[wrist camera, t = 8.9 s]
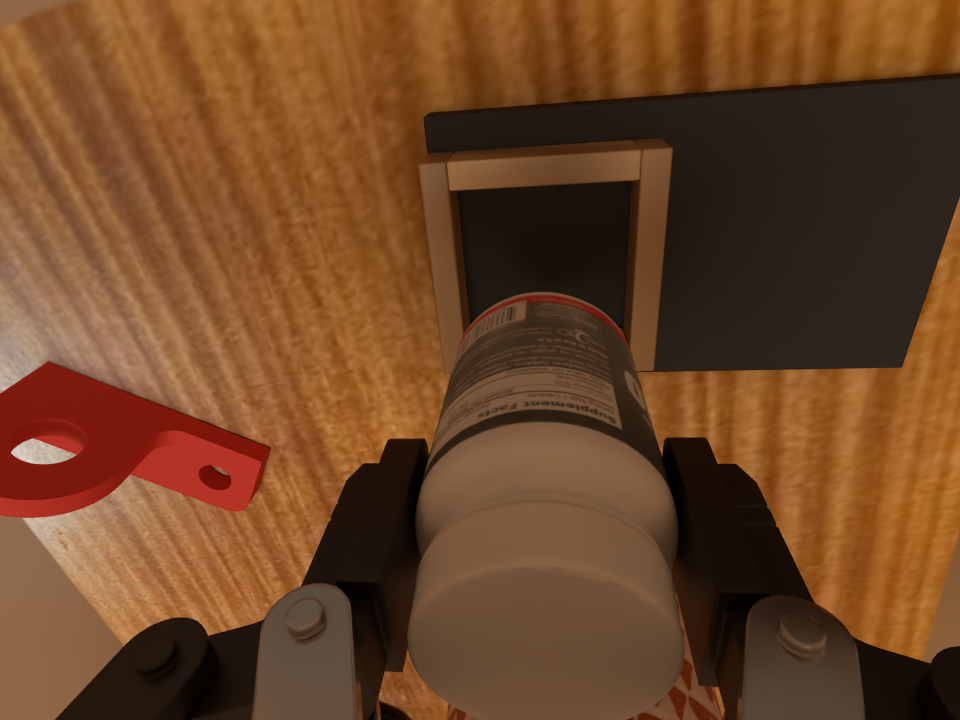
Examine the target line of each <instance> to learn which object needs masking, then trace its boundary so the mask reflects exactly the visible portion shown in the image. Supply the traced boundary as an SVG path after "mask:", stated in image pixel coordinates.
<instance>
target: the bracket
mask: <svg viewBox="0 0 960 720" xmlns="http://www.w3.org/2000/svg"><path fill="white" fill-rule="evenodd" d="M32 438H34V439H37V440H40V441H42V442H45V443H48V444H50V445H53V446H56V447H58V448H61V449H64V450H66V451H69V452H72V453H75V454H77V455H76V456H75V457H73V458H71V459H69V460H66V461H63V462H60V463H55V464H43V465H42V464H32V463H28V462H24V461H22V460H20V459H18V458H16V457H15V456H13V455H12V454H11V451H12V450H13V449H14V448H15V447H16V446H18V445H19V444H21V443H22V442H24V441H27V440H29V439H32ZM270 449H271V448H268V447H266V446H263V445H261V444H258V443H256V442H253V441H250V440H248V439H245V438H243V437H240V436H238V435H235V434H232V433H230V432H227V431H225V430H222V429H220V428H217V427H215V426H212V425H209V424H207V423H204V422H202V421H199V420H197V419H194V418H191V417H189V416H186V415H184V414H181V413H179V412H176V411H174V410H171V409H168V408H166V407H163V406H161V405H158V404H156V403H153V402H150V401H148V400H145V399H143V398H140V397H138V396H135V395H132V394H130V393H127V392H125V391H122V390H120V389H117V388H115V387H112V386H109V385H107V384H104V383H102V382H99V381H97V380H94V379H91V378H89V377H86V376H84V375H81V374H79V373H76V372H74V371H71V370H68V369H66V368H63V367H61V366H58V365H56V364H53V363H50V362H47V363H45V364H44V365H42V366H41V367H39V368H38V369H36V370H35V371H33V372H32V373H30V374H29V375H27V376H26V377H24V378H23V379H21V380H20V381H18V382H17V383H15V384H14V385H12V386H11V387H9V388H8V389H6V390H5V391H3V392H2V393H0V515H4V516H10V517H21V518H35V517H48V516H55V515H60V514H65V513H69V512H72V511H76V510H79V509H81V508H84V507H87V506H89V505H91V504H93V503H95V502H97V501H99V500H101V499H103V498H104V497H106V496H107V495H109V494H110V493H111V492H113V491H114V490H115V489H116V488H117V487H118V486H119V485H120V484H121V483H122V482H123V481H124V480H125V479H126V478H127V477H128V476H129V475H130V474H131V475H134V476H136V477H139V478H142V479H144V480H147V481H150V482H153V483H155V484H158V485H161V486H163V487H166V488H169V489H171V490H174V491H177V492H179V493H182V494H185V495H188V496H190V497H193V498H196V499H198V500H201V501H204V502H206V503H209V504H212V505H214V506H217V507H220V508H223V509H225V510H228V511H241V510H244V509H245V508H246V507H247V506H248V504H249V503H250V501H251V500H252V498H253V496H254V495H255V493H256V492H257V489H258V486H259V483H260V480H261V477H262V474H263V471H264V467H265V464H266V461H267V458H268V455H269V452H270ZM211 465H214V466H218V467H220V468H222V469H224V470H225V471H226V472H227V473H228V474H229V476H230V477H229V476H223V475H221V474H219V473H217V472H216V471H215V470H214V469H213V468H212V467H211Z"/></svg>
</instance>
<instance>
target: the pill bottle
mask: <svg viewBox="0 0 960 720" xmlns="http://www.w3.org/2000/svg"><path fill="white" fill-rule="evenodd" d="M415 534H416V540H417V545H418V549H419V552H420V555H421V557H422V560H421V561H420V565H419V568H418V571H417V576H416V586H415V592H414V598H413V604H412V609H411V615H410V620H409V626H408V632H407V636H408V650H409V655H410V658H411V661H412V663H413V666H414V667H415V669H416V671H417V673H418V674H419V676H420V677H421V679H422V680H423V681H424V682H425V684H426V685H427V686H428V687H429V688H430V689H431V690H432V691H433V692H435V693H436V694H437V695H438V696H440V697H441V698H442V699H444V700H445V701H447V702H448V703H450V704H451V705H453V706H454V707H456V708H457V709H459V710H461V711H463V712H466V713H468V714H470V715H473V716H475V717H478V718H480V719H482V720H626V719H629V718H631V717H634V716H636V715H638V714H640V713H642V712H644V711H646V710H648V709H650V708H651V707H652V706H654V705H655V704H656V703H658V702H659V701H660V700H661V699H662V698H663V697H664V696H666V695H667V693H668V692H669V691H670V690H671V689H672V687H673V686H674V685H675V683H676V681H677V679H678V677H679V675H680V673H681V671H682V667H683V663H684V656H685V646H684V639H683V633H682V628H681V623H680V617H679V611H678V605H677V600H676V595H675V586H674V581H673V577H672V574H671V571H670V570H671V568H672V566H673V563H674V560H675V557H676V554H677V548H678V541H679V522H678V515H677V511H676V506H675V502H674V498H673V494H672V491H671V487H670V483H669V480H668V476H667V473H666V470H665V467H664V463H663V459H662V456H661V452H660V449H659V446H658V442H657V439H656V436H655V432H654V429H653V426H652V422H651V417H650V414H649V411H648V408H647V404H646V401H645V398H644V395H643V392H642V388H641V385H640V381H639V378H638V375H637V371H636V367H635V363H634V359H633V356H632V352H631V350H630V348H629V345H628V343H627V341H626V339H625V337H624V335H623V333H622V332H621V331H620V329H619V328H618V326H617V325H616V324H615V323H614V322H613V321H612V319H611V318H610V317H609V316H607V315H606V314H605V313H604V312H602V311H601V310H600V309H598V308H597V307H595V306H594V305H592V304H589V303H587V302H585V301H583V300H580V299H578V298H575V297H572V296H568V295H564V294H560V293H552V292H533V293H525V294H520V295H517V296H513V297H510V298H508V299H505V300H503V301H501V302H499V303H497V304H495V305H493V306H492V307H490V308H489V309H487V310H486V311H484V312H483V313H482V314H481V315H480V316H479V317H477V318H476V319H475V321H474V322H473V323H472V324H471V325H470V327H469V328H468V329H467V331H466V332H465V334H464V336H463V337H462V339H461V341H460V344H459V346H458V349H457V352H456V355H455V359H454V364H453V368H452V372H451V376H450V380H449V384H448V388H447V392H446V396H445V399H444V403H443V407H442V411H441V414H440V418H439V422H438V426H437V429H436V433H435V437H434V441H433V444H432V448H431V452H430V455H429V459H428V462H427V466H426V469H425V473H424V476H423V480H422V484H421V488H420V493H419V498H418V503H417V507H416V514H415Z"/></svg>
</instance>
